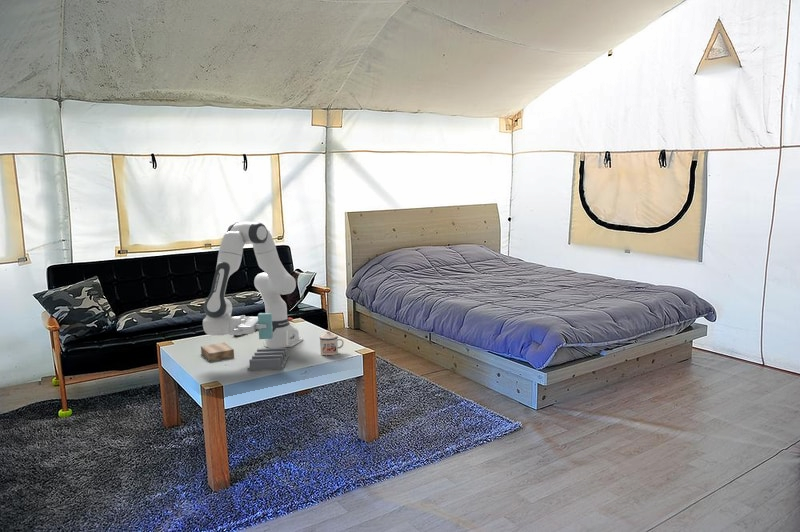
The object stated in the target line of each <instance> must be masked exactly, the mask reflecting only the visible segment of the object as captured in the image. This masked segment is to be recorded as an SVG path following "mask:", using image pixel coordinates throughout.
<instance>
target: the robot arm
mask: <svg viewBox="0 0 800 532" xmlns="http://www.w3.org/2000/svg"><path fill="white" fill-rule="evenodd" d="M245 245H252V247H253V252H254V256H255V258H256V262H257V265H258V267H259V269H261V270H262V271H264V272H260V273H257V275H256V276H255V277H254V280H253V284H254V287H255V289H256V291H258V292H259V293H260V296H261V297H262V298H261V299H262V300H263V302H264V303H263V304H264V309H265V310H264V311H265V313H272V330H273V338H272V339H264V341H263V344H264V348H292V347H294V346H296V345H298V344H299V343H301V342H302V341H304V338H303V337H301V336H299V335H300V334H299V330H298V329H297V328H296V327H294V326H293V325H291V324H290V322H292V321H293V317H288V307H287V306H288V305H287V303H286V301H285V300H284V299H283V298H282V297H281V295H282V296H283V295H288V294H292V293H293V292H294V291H295V289H296V287H297V282H296V278H294V276H292V275H291V274H290V273H289V272H288V270H286V268H285V267H284V265H283V263H282V261H281V260H280V257H279V254H278V250H277V246H276V243H275V241H274V239H273V236H272V234H271V232H270V231H269V229H267V227H266V226H265V224H264V223H262V222H257V221H255V222H254V221H242V222H240V221H239V222H238V221H237V222H234V223H232V224H230V225H229V227H228V228H227V231H226V232H225V233H224V235H223V236H222V239H221V242H220V245H219V249H218V254H217V260H216V261H217V262H216V267H215V272H214V275H213V280H212V284H211V288H210V292H209V294H208V296H207V298H206V299H205V300H204V304H203V311H204V313H205V317H204V318H203V319H202V329H203V332H204V333H205V334H207V335H208V336H226V335H230V336H234V335H238V336H242V335H253V334H254V333H255V332H256V331H257V330H256V329H258V330H259V329H261V328H266V327H267V324H258V316H253V315H251V316H249V315H248V316H246V315H245V314H242V315H237V316H236V315H235V316H233V315H232V313H233V303H232V302H231V301H230V299H228V298H226V297H225V294H226V290H227V286H228V281H229V278H230V276H232V275H233V274H234V273H235V272H237V271H238V270H239V269H240V266H241V262H242V258H243V253H244V246H245Z"/></svg>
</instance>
